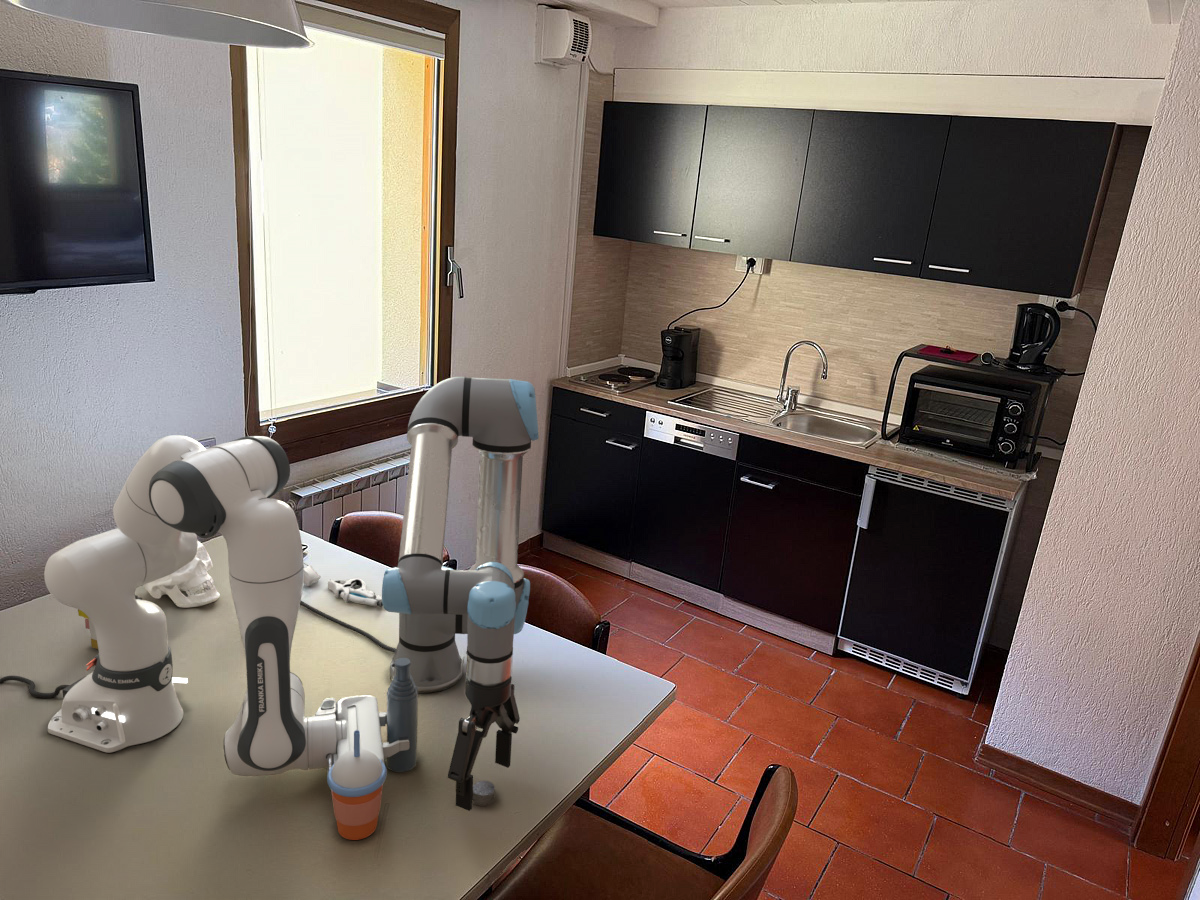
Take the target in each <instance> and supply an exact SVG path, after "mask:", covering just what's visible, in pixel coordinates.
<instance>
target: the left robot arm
mask: <svg viewBox="0 0 1200 900" xmlns="http://www.w3.org/2000/svg"><path fill="white" fill-rule="evenodd" d="M290 476H291V465H290V460H289V457H288V455H287V453H286V451H285V450H284V449H283V447H282V446H281V444H279V443H278V442H277V441H275V440H274V439H273V438H271V437H269V436H266V435H265V436H264V435H249V436H243V437H239V438H236V439H234V440H230V441H228V442H227V441H226V442H223V443H220V444H216V445H212V446H210V447H207V448H205V447H204V446H203V445H202V444H201V443H200V442H199V441H198V440H196V439H194V438H193V437H189V436H186V435H180V434H171V435H165V436H163V437H161V438H159V439H157V440H156V441H154V442H153V443H152V444H151V445H150V446H149V448H147V450H146V451H144V453H143V454H142V455H141V457H140V458H139V459H138V460H137V462H136V464H135V465H134V466H133V468H132V470H131V471H130V473H129V475H128V477H127V479H126V481H125V482H124V484H123V486H122V488H121V491H120V492H119V494H118V497H117V498H116V500H115V502H114V504H113V510H112V515H113V519H114V523H115V525H116V527H115V528H113V529H109V530H107V531H104V532H101V533H98V534H95V535H90V536H88V537H84V538H82V539H78V540H77V541H74V542H72V543H71V544H68V545H67V546H65V547H63V548H61V549H60V550H58V551H56V552H54V553H53V554H51V555H50V556H49V557H48V559H47V561H46V563H45V567H44V573H43V576H44V577H43V578H44V583H45V587H46V589H47V591H48V592H49V594H50V595H51V597H53V598H54V599H55V600H56V601H57V602H59V603H61V604H63V605H64V606H67V607H70V608H74V609H77V610H78V609H79V610H81V611H82V612H84V613H85V614H86V615H87V616H88V617H89V618H90V620H91V621H92V623H93V626H94V629H95V633H96V638H97V643H98V649H97V650H98V654H96V655H95V656H93V657H94V658H93V659H91V660H90V661H89V662H88V663H87V664H86V665H85V667H87V668H86V669H85V670H86V672H88V671H89V670H91V669H92V668H93V667H94V669H93V671H92V672H91V673H89V674H88V675H85V676H83V677H81V678H80V679H78V680H76V681H74V682H72V683H71V684H61V685H58V686H56V688H55V689H54V691H52V692H39V691H36V690H35V689H36V685H35V681H33V680H31V679H29V678H28V677H27V678H26V677H23V676H20V675H6V676H3V677H1V678H0V684H3V683H4V682H7V681H17V682H21V683H24V684H27V685H28V692H29V694H30V695H31V696H33V697H36V698H42V699H50V698H55V697H57V696H58V695H60V693H61V691H62V698H63V700H62V702H61V708H60V709H59V710H58V711H57V712H56V713H55V714H54V715H53V716H52V717H51V719H50V720H49V722H48V725H47V733H48V734H50V735H53V736H55V737H59V738H62V739H65V740H67V741H71V742H74V743H77V744H79V745H83V746H84V747H85V746H86V747H89V748H91V749H94V750H97V751H100V752H103V753H107V754H108V753H109V754H111V753H114V752H118V751H121V750H122V749H125V748H127V747H131V746H135V745H140V744H144V743H149V742H151V741H155V740H157V739H160V738H162V737H163V736H165V735H168V734H169V733H171V732H172V731H173V730H174V729H175V728H177V727H178V726H179V724H180V723H181V722H182V720H183V718H184V709H183V707H182V705H181V702H180V700H179V698H178V695H177V692H176V688H175V684H174V683H176V684H177V683H178V684H188V683H189V680H188V677H173V669H174V667H173V665H174V664H173V656H172V649H171V647H170V646H169V639H168V628H167V617H166V614H165V612H164V610H162V608H161V607H160V606H159V605H157V604H156V603H154V602H153V601H149V600H145V599H142V600H140V599H135V595H136V590H137V589H138V588H140V587H142V586H143V585H144V584H147V583H150V582H152V581H155V580H157V579H160V578H162V577H165V576H167V575H170V574H172V573H174V572H175V571H177V570H179V569H180V568H182V567H183V566H185V565H186V564H188V563H189V562H191V561H192V560H193V559H194V558H195V556H196V553H197V549H198V541H199V540H198V537H199V538H201V539H210V538H213V537H214V536H216V534H217V533H219V534H220V535H221V536H222V537H223V538H224V540H225V543H226V548H227V563H228V578H229V586H230V591H231V597H232V602H233V606H234V610H235V614H236V619H237V622H238V627H239V631H240V636H241V641H242V645H243V650H244V656H245V667H246V668H245V669H246V688H247V689H246V691H245V694H244V698H243V702H242V704H241V707H240V709H239V712H238V714H237V716H236V718H235V720H234V721H233V724H232V725H231V726H229V728H228V729H227V730H226V731H225V733H224V737H223V754H224V760H225V761H224V762H225V764H226V766H227V769H228V770H229V771H230V773H231V774H233V775H236V776H241V777H265V776H273V775H274V776H275V775H281V774H284V773H287V772H289V771H293V770H302V771H310V770H311V771H312V770H319V769H320V770H321V769H326V773H327V775H328V772H329V770H330V768H331V767H332V765H333V764H334V763H335V762H336V761H337V760H338V759H339V758H340V757H341V756H342V755H343V754H345V753H346V752H348V751H351V750H354V731H356V730H358V731H360V749H364V750H368V751H370V752H372V753H374V754H375V755H376V756H377V757H378V758H379V759H380V760H381V761H382V762H383V763H384V764H385V758H386V759H387V757H390V756H392V755H394V754H396V753H397V752H399V751H403V750H408V749H409V738H408V737H398V741H395V742H393V743H391V744H389V742H387V741H384V742H383V738H382V730H381V728H383V727H386V725H387V711H379V704H378V703H379V702H378V698H377V697H376V696H375V695H370V694H362V695H361V694H360V695H350V696H344V697H341V698H339V699H337V700H336V698H335V697H326V698H324V699H323V700H322V702H321V704H320V705H319V707H318V709H317V710H316V712H315V714H314V715H311V716H305V710H306V709H305V708H306V707H305V705H306V702H305V701H306V700H305V699H306V696H305V695H306V694H305V689H304V685H303V681H302V680H301V678H300V677H299V676H298V675H297V674H296V673H294V672H292V671H291V653H292V645H293V639H294V635H295V629H296V625H297V620H298V615H299V610H300V607H301V605H300V602H301V601H302V595H303V590H304V589H303V588H304V582H303V579H304V568H305V564H304V563H305V562H304V550H303V541H302V536H301V531H300V528H299V524H298V519H297V517H296V513H295V511H294V509H293V508H292V507H291V506H290V505H289V504H288V503H286V502H284V500H283V501H282V500H280V499H277V498H272V497H273V496H275V495H276V494H278V493H279V492H280V491H281V490H282V489H284V487H286V485H287V484H288V482H289V479H290Z"/></svg>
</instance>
